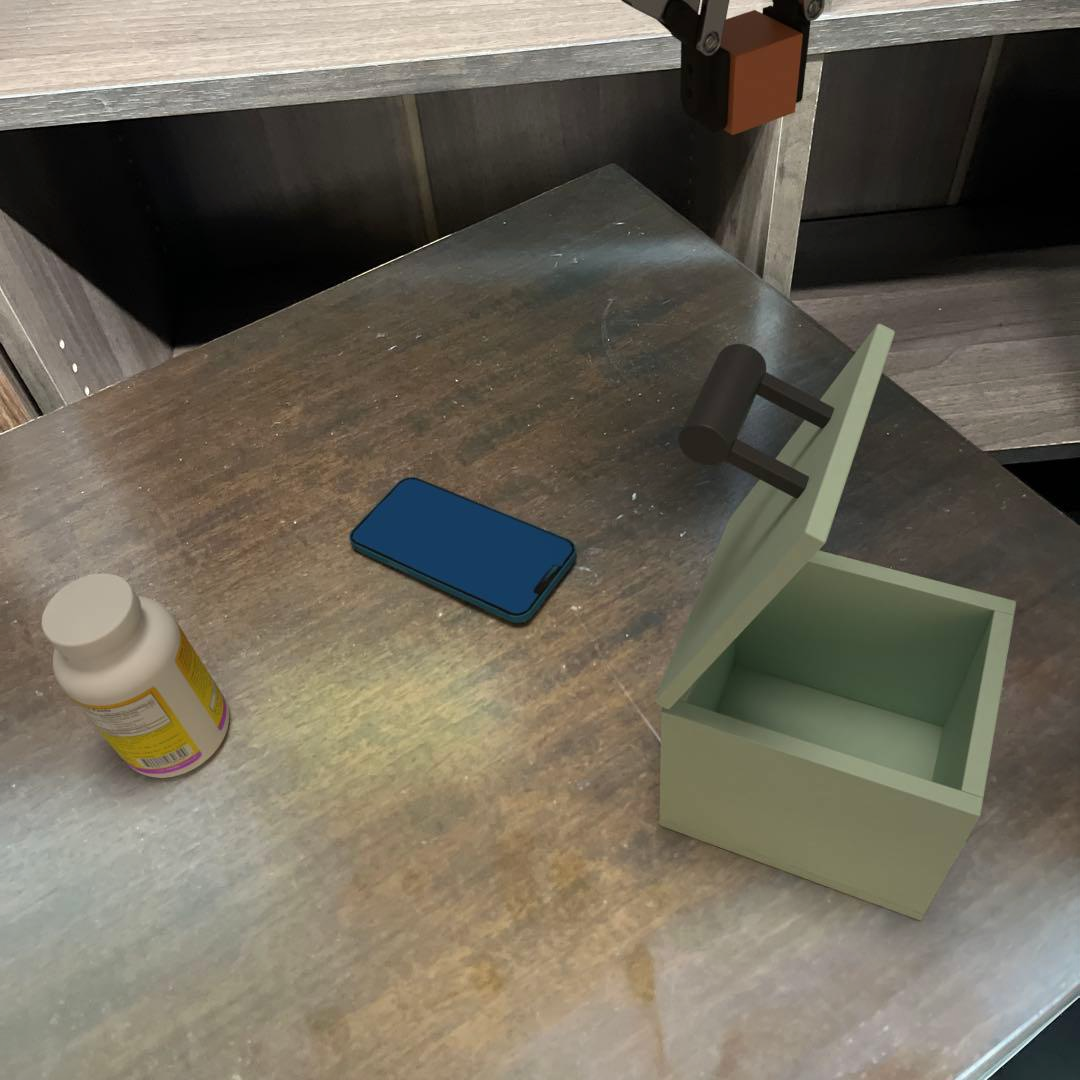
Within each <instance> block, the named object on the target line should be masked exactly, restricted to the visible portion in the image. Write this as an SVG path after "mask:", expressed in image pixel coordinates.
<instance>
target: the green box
mask: <svg viewBox="0 0 1080 1080" xmlns="http://www.w3.org/2000/svg"><path fill="white" fill-rule="evenodd" d="M1016 607H1017V601H1016V600H1013V599H1010V598H1006V597H1002V596H998V595H993V594H990V593H985V592H982V591H978V590H974V589H971V588H966V587H962V586H960V585H959V586H958V585H955V584H951V583H947V582H943V581H939V580H935V579H931V578H928V577H923V576H920V575H916V574H912V573H909V572H904V571H900V570H897V569H893V568H888V567H884V566H881V565H878V564H873V563H869V562H865V561H862V560H858V559H854V558H850V557H847V556H842V555H839V554H835V553H831V552H827V551H823V550H820V549H819V550H818V551H817V552H816V553H815V555H814V556H813V557H812V558H811V559H810V560H809V561H808V562H807V563H806V564H805V565H804V566H803V567H802V568H801V569H800V571H799V572H798V573H797V574H796V575H795V576H794V577H793V578H792V579H791V580H790V581H789V582H788V583H787V584H786V585H785V586H784V588H783V589H782V590H781V591H780V592H779V593H778V594H777V595H776V596H775V597H774V598H773V599H772V600H771V601H770V602H769V603H768V605H767V606H766V607H765V608H764V609H763V610H762V611H761V612H760V613H759V614H758V615H757V616H756V617H755V618H754V619H753V620H752V622H751V623H750V624H749V625H748V626H747V627H746V628H745V629H744V630H743V631H742V632H741V633H740V634H739V635H738V636H737V638H736V639H735V640H734V641H733V642H732V643H731V644H730V645H729V646H728V647H727V648H726V649H725V650H724V651H723V652H722V653H721V655H720V656H719V657H718V658H717V659H716V660H715V661H714V662H713V663H712V664H711V665H710V666H709V667H708V668H707V669H706V670H705V672H704V673H703V674H702V675H701V676H700V677H699V678H698V679H697V680H696V681H695V682H694V683H693V684H692V685H691V686H690V688H689V689H688V690H687V691H686V692H685V693H684V694H683V695H682V696H681V697H680V698H679V699H678V700H677V701H676V702H675V703H674V705H673V706H672V707H671V708H670V709H666V708H664V707H662V708H661V711H660V744H659V745H660V746H659V747H660V752H659V754H660V755H659V804H658V805H659V808H658V809H659V811H658V826H660V827H662V828H665V829H669V830H671V831H673V832H676V833H680V834H681V835H682V834H683V835H684V836H686V837H687V836H688V837H691V838H693V839H696V840H699V841H701V842H704V843H706V844H710V845H713V846H715V847H718V848H721V849H723V850H726V851H729V852H732V853H734V854H737V855H740V856H742V857H745V858H748V859H750V860H753V861H755V862H759V863H761V864H764V865H767V866H769V867H772V868H774V869H778V870H781V871H783V872H786V873H789V874H791V875H794V876H797V877H799V878H802V879H806V880H807V881H810V882H813V883H816V884H819V885H822V886H825V887H826V888H830V889H833V890H835V891H838V892H841V893H844V894H846V895H849V896H851V897H854V898H858V899H859V900H862V901H865V902H868V903H871V904H874V905H876V906H879V907H881V908H884V909H887V910H889V911H893V912H895V913H898V914H901V915H903V916H907V917H909V918H913V919H914V920H917V921H922V919H923V918H924V916H925V914H926V913H927V910H928V909H929V907H930V905H931V904H932V902H933V900H934V898H935V897H936V895H937V893H938V891H939V890H940V888H941V887H942V884H943V883H944V880H945V879H946V877H947V875H948V874H949V872H950V870H951V868H952V867H953V865H954V863H955V861H956V860H957V858H958V856H959V854H960V853H961V851H962V849H963V847H964V846H965V844H966V842H967V840H968V838H970V835H971V833H972V832H973V830H974V828H975V826H976V825H977V823H978V821H979V820H980V817H981V815H982V810H983V804H984V797H985V792H986V787H987V786H986V785H987V781H988V780H987V779H988V775H989V774H988V773H989V769H990V768H989V767H990V762H991V755H992V751H993V750H992V749H993V744H994V738H995V731H996V725H997V720H998V719H997V718H998V714H999V709H1000V702H1001V697H1002V690H1003V685H1004V678H1005V671H1006V667H1007V660H1008V655H1009V649H1010V642H1011V637H1012V630H1013V626H1014V625H1013V624H1014V618H1015V617H1014V616H1015V613H1016Z"/></svg>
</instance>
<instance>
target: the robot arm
mask: <svg viewBox="0 0 1080 1080" xmlns="http://www.w3.org/2000/svg"><path fill="white" fill-rule="evenodd" d="M620 1H621V2H623V3H624V4H625V5H627V6H629V7H631V8H633V9H635V10H636V11H638V12H640V13H642V14H644V15H646V16H648V17H650V18H652V19H654V20H656V21H657V22H658V23H659V24H661V25H662V27H664V28H665V29H666V30H667V32H669V33H670V34H671V37H672V38H675V39H676V40H678V41H679V42H680V83H679V84H680V85H679V86H680V89H679V91H680V92H679V96H680V103H681V106H682V110H683V113H684V114H685V115H686V116H687V117H689V118H690V119H692V120H694V121H695V122H697V123H698V124H700V125H702V126H703V127H704V128H706V129H708V130H709V131H711V132H712V133H717V132H721V131H723V129H725V127H726V125H727V117H728V96H729V76H730V54H729V51H727V50H725V49H724V48H722V47H720V45H721V42H722V37H723V32H724V27H725V21H726V19H727V16H728V11H729V5H730V0H620ZM771 2H772V5H767V6H764V7H762V11H761V13H762V14H764V15H766V16H768V17H770V18H772V19H774V20H776V21H778V22H780V23H782V24H784V25H786V26H788V27H790V28H792V29H794V30H796V31H798V32H800V33H802V34H803V38H802V48H801V58H800V67H799V77H798V87H797V97H796V104H798V103H800V102H802V101H803V96H804V88H805V87H804V86H805V77H806V76H805V75H806V70H807V62H808V52H809V43H810V42H809V41H810V33H811V22H815V21H816V20H817V19H818V18H820V16H821V15H822V13H824V9H825V3H826V0H771ZM700 5H701V6H700Z"/></svg>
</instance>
